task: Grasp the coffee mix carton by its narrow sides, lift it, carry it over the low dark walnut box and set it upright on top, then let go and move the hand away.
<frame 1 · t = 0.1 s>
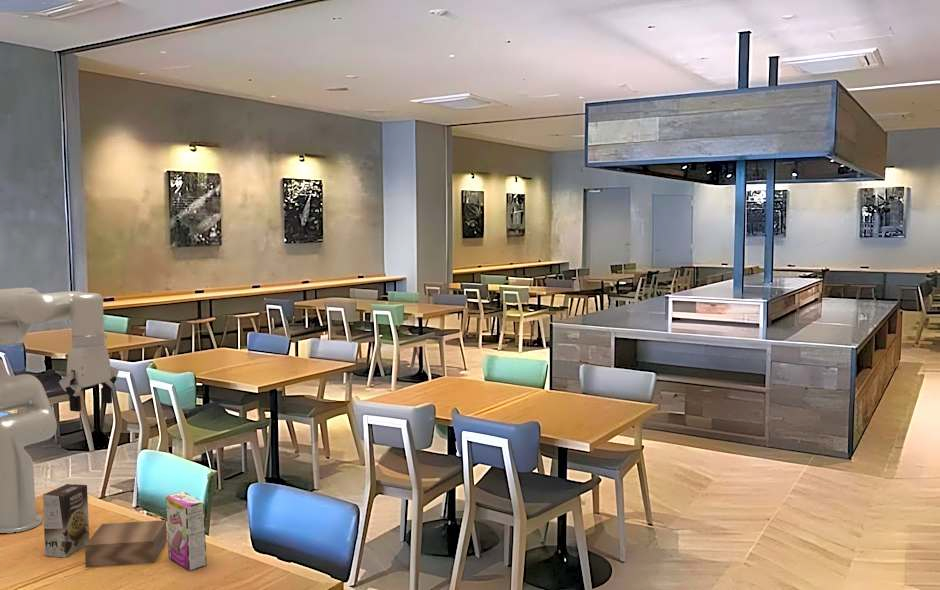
hand: (91, 406, 199), 37 cm above the table, tool pointing down, fingers open, 9 cm apart
candy bar box: (187, 563, 192), on the table
walnut box: (128, 554, 197), on the table
coffee box: (68, 550, 199), on the table
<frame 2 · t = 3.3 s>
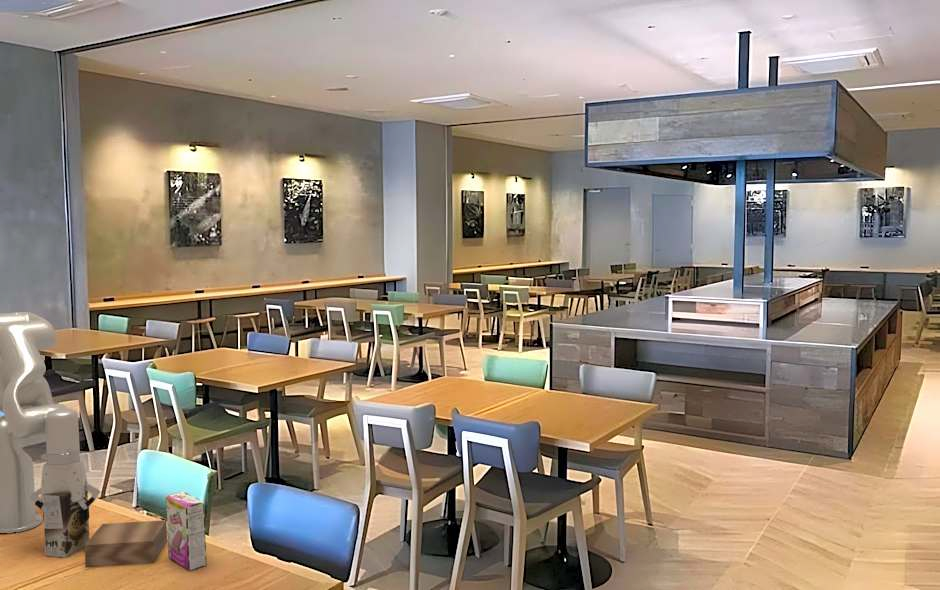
hand: (66, 523, 199), 7 cm above the table, tool pointing down, fingers closed on coffee box, 8 cm apart
coffee box: (68, 550, 199), on the table, touching gripper
everything else where it was.
when the fingers open (14 cm above the table, at t = 8.9 s): coffee box drops 2 cm, point 5 cm above the table.
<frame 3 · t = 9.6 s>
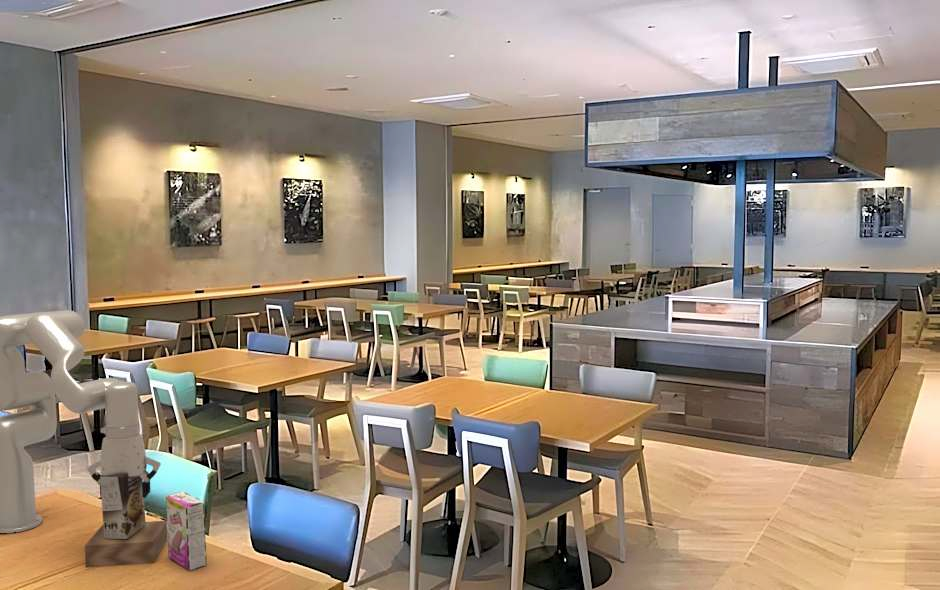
hand: (125, 497, 196), 15 cm above the table, tool pointing down, fingers open, 9 cm apart
coffee box: (125, 532, 196), point 5 cm above the table, touching gripper
everything else where it was.
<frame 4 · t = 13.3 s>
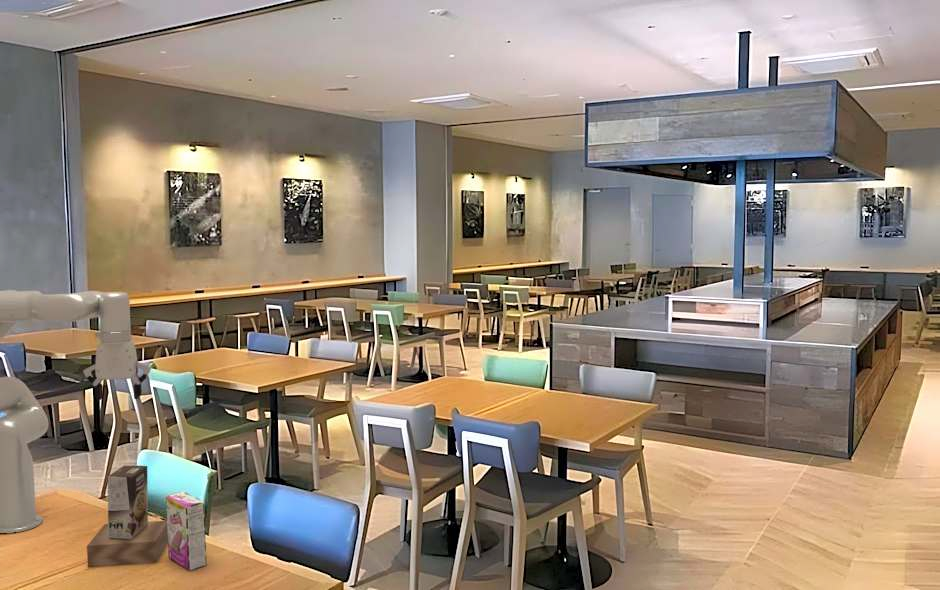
hand: (118, 398, 212), 36 cm above the table, tool pointing down, fingers open, 9 cm apart
coffee box: (128, 532, 197), point 5 cm above the table
everything else where it was.
at the end: coffee box inside the target area on the walnut box (0.2 cm from its centre), point 5.9 cm above the walnut box's base; coffee box tilted 2°; the gripper is holding nothing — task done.
